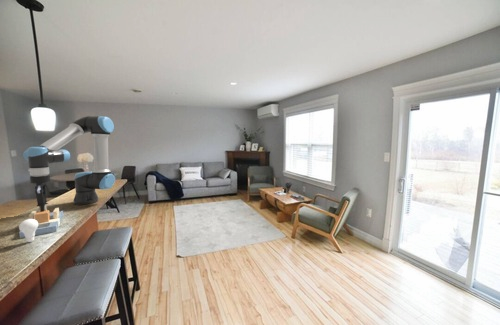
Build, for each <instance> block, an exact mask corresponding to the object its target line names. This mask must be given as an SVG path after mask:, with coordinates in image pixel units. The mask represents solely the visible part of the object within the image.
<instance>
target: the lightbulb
mask: <svg viewBox="0 0 500 325" xmlns="http://www.w3.org/2000/svg"><path fill="white" fill-rule="evenodd" d="M37 227H38V222H37V221H36V220H35V219H29V218H28V219H24V220H23V221H21V222H20V224H19V225H18V229H19V231H22V232H23V233H24V235H25V237H24V239H25V240H26V242H28V243H32V242H33V241H35V236H36V235H35V231H36V229H37Z"/></svg>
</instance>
